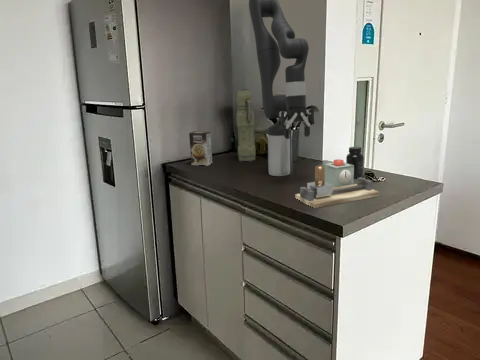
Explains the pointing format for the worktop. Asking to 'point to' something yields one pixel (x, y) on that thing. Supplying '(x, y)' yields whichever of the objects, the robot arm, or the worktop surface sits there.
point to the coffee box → (200, 148)
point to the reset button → (338, 162)
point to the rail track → (339, 194)
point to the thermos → (245, 126)
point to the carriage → (320, 183)
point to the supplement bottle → (356, 161)
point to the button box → (339, 174)
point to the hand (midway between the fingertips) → (297, 137)
